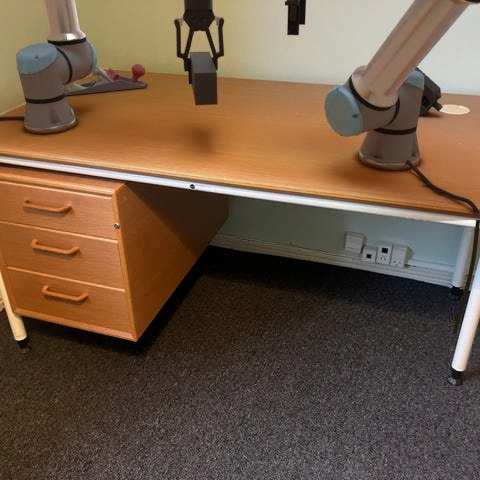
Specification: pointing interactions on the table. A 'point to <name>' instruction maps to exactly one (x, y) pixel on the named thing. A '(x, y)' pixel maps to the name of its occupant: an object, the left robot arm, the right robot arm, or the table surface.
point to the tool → (429, 95)
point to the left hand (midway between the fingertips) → (201, 82)
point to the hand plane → (107, 81)
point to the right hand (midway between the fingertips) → (296, 29)
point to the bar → (203, 78)
